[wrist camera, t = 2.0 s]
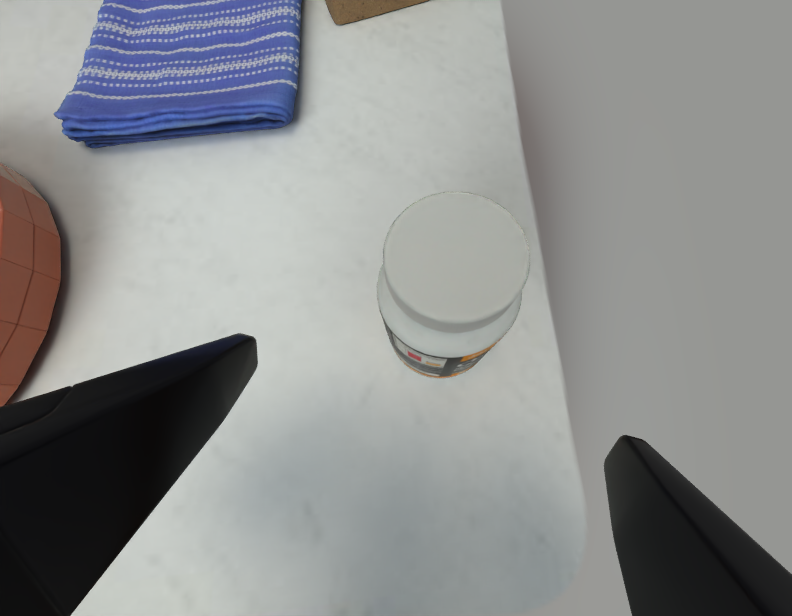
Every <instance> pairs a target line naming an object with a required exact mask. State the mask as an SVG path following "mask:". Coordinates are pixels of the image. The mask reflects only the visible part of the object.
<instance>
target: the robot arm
mask: <svg viewBox="0 0 792 616" xmlns="http://www.w3.org/2000/svg"><path fill="white" fill-rule="evenodd" d="M257 364H258V358H257V343H256V339H255V338H254V337H253V336H249V335H245V334H241V333H238V334H235V335H232V336H229V337H225V338H222V339H219V340H216V341H213V342H209V343H206V344H203V345H200V346H197V347H193V348H190V349H187V350H184V351H181V352H177V353H174V354H171V355H168V356H164V357H161V358H158V359H155V360H152V361H148V362H145V363H142V364H139V365H136V366H132V367H129V368H126V369H123V370H120V371H116V372H113V373H110V374H107V375H104V376H100V377H97V378H94V379H91V380H88V381H84V382H81V383H78V384H75V385H74V386H73V387H71V386H68V387H65V388H62V389H59V390H55V391H52V392H49V393H46V394H43V395H39V396H36V397H33V398H29V399H26V400H23V401H19V402H16V403H13V404H9V405H5V406H2V407H0V616H70V615H71V614H72V613H73V611H74V610H75V609H76V608H77V606H78V605H79V604H80V603H81V601H82V600H83V599H84V598H85V596H86V595H87V594H88V592H89V591H90V590H91V589H92V587H93V586H94V585H95V584H96V582H97V581H98V580H99V578H100V577H101V576H102V575H103V573H104V572H105V571H106V570H107V568H108V567H109V566H110V564H111V563H112V562H113V561H114V559H115V558H116V557H117V556H118V554H119V553H120V552H121V550H122V549H123V548H124V547H125V545H126V544H127V543H128V542H129V540H130V539H131V538H132V537H133V535H134V534H135V533H136V531H137V530H138V529H139V528H140V526H141V525H142V524H143V523H144V521H145V520H146V519H147V517H148V516H149V515H150V514H151V512H152V511H153V510H154V509H155V507H156V506H157V505H158V503H159V502H160V501H161V500H162V498H163V497H164V496H165V495H166V493H167V492H168V491H169V489H170V488H171V487H172V486H173V484H174V483H175V482H176V481H177V479H178V478H179V477H180V475H181V474H182V473H183V472H184V470H185V469H186V468H187V467H188V465H189V464H190V463H191V462H192V460H193V459H194V458H195V456H196V455H197V454H198V453H199V451H200V450H201V449H202V448H203V446H204V445H205V444H206V442H207V441H208V440H209V439H210V437H211V436H212V435H213V434H214V432H215V431H216V430H217V428H218V427H219V426H220V425H221V423H222V422H223V421H224V419H225V418H226V416H227V415H228V413H229V412H230V410H231V409H232V407H233V405H234V404H235V402H236V401H237V399H238V397H239V396H240V394H241V393H242V391H243V390H244V388H245V386H246V385H247V383H248V382H249V380H250V379H251V377H252V375H253V374H254V372H255V370H256V368H257ZM604 472H605V480H606V487H607V494H608V502H609V510H610V517H611V525H612V531H613V537H614V542H615V546H616V551H617V555H618V559H619V563H620V567H621V571H622V575H623V580H624V584H625V588H626V592H627V596H628V600H629V605H630V609H631V613H632V616H792V574H791V573H790V572H788V571H787V570H786V569H785V568H784V567H783V566H782V565H781V564H780V563H779V562H777V561H776V560H775V559H774V558H773V557H772V556H771V555H770V554H769V553H767V552H766V551H765V550H764V549H763V548H762V547H761V546H760V545H759V544H758V543H757V542H755V541H754V540H753V539H752V538H751V537H750V536H749V535H748V534H747V533H746V532H745V531H743V530H742V529H741V528H740V527H739V526H738V525H737V524H736V523H735V522H733V521H732V520H731V519H730V518H729V517H728V516H727V515H726V514H725V513H724V512H723V511H721V510H720V509H719V508H718V507H717V506H716V505H715V504H714V503H713V502H712V501H710V500H709V499H708V498H707V497H706V496H705V495H704V494H702V492H701V491H699V490H698V489H697V488H696V487H695V486H694V485H693V484H692V483H691V482H690V481H688V480H687V479H686V478H685V477H684V476H683V475H682V474H681V473H680V472H679V471H678V470H676V469H675V468H674V467H673V466H672V465H671V464H670V463H669V462H668V461H666V460H665V459H664V458H663V457H662V456H661V455H660V454H659V453H658V452H657V451H655V450H654V449H653V448H652V447H651V446H650V445H649V444H648V443H647V442H646V441H644V440H642V439H639V438H635V437H631V436H627V435H623V436H621V437H620V438H619V439H618V440H617V442H616V443H615V445H614V446H613V448H612V449H611V451H610V452H609V454H608V455H607V457H606V459H605V463H604Z"/></svg>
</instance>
